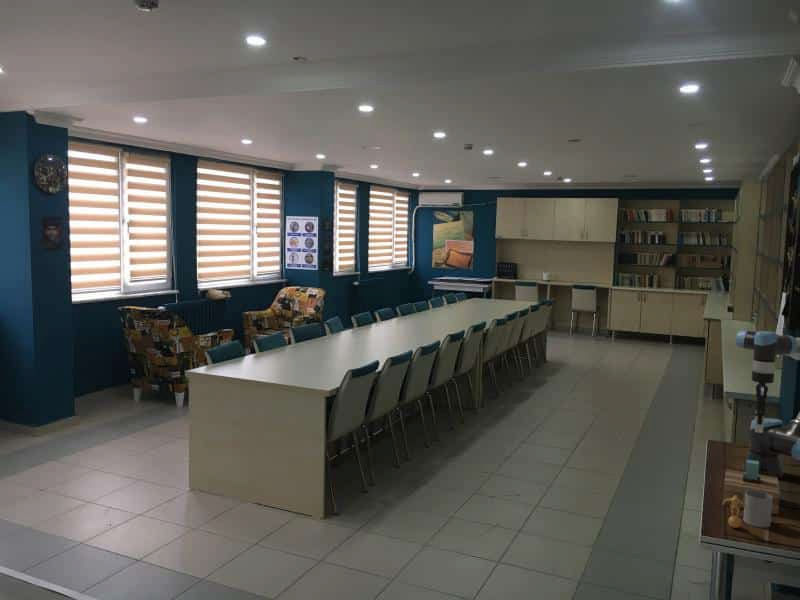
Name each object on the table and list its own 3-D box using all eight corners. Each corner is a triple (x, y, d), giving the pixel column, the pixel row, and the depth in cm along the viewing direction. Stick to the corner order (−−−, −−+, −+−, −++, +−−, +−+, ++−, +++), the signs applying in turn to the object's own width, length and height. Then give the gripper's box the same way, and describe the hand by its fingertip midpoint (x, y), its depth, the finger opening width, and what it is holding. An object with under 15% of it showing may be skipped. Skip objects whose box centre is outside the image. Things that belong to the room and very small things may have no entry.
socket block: (724, 488, 266) (725, 466, 265) (776, 497, 258) (778, 474, 257) (722, 504, 250) (724, 480, 249) (778, 514, 242) (780, 489, 241)
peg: (745, 479, 256) (746, 459, 255) (757, 481, 254) (758, 461, 253) (745, 483, 252) (746, 462, 252) (757, 485, 250) (758, 464, 250)
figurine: (749, 528, 229) (751, 494, 228) (745, 534, 224) (748, 500, 223) (722, 522, 234) (725, 488, 233) (718, 527, 229) (721, 493, 228)
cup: (739, 521, 235) (741, 494, 234) (748, 515, 241) (750, 488, 240) (766, 529, 229) (768, 501, 228) (773, 522, 235) (776, 495, 234)
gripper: (752, 366, 269) (747, 422, 271) (752, 374, 252) (747, 434, 254) (773, 368, 265) (768, 425, 268) (775, 377, 248) (770, 437, 251)
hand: (758, 429), depth 261 cm, fingers open, 6 cm apart
